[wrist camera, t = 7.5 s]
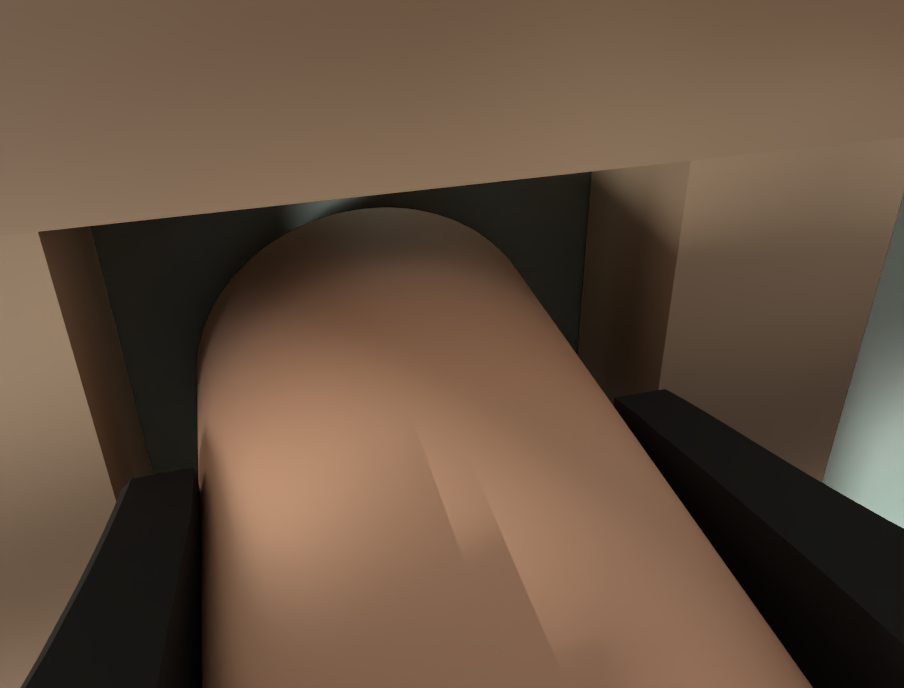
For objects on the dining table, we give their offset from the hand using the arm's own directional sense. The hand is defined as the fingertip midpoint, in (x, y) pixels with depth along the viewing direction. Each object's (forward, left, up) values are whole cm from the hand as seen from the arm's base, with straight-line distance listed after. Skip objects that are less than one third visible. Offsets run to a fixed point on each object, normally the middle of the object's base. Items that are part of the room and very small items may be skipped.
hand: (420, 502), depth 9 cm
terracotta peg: (0, 0, -2) cm, 3 cm away
